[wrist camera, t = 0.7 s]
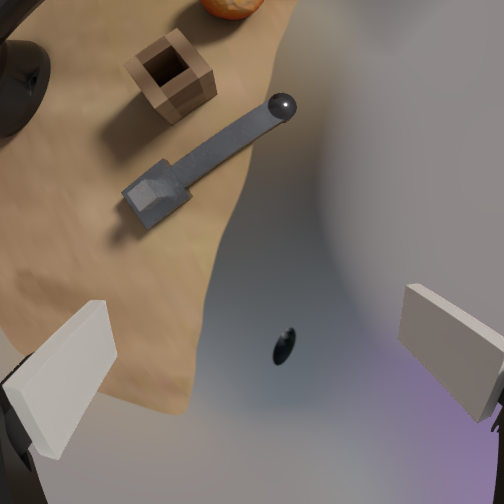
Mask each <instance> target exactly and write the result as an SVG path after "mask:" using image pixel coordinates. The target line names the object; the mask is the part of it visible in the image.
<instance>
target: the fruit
mask: <svg viewBox="0 0 504 504" xmlns="http://www.w3.org/2000/svg"><path fill="white" fill-rule="evenodd" d="M263 1H264V0H200V2H201V3H202V5H203V7H204V8H205V9H206V10H207V11H208V12H209V13H210V14H212V15H214V16H217V17H220V18H224V19H228V20H239V19H242V18H245V17H247V16H249V15H251V14H252V13H254V12H255V11H256V10H257V9H258V8H259V7H260V5H261V4H262V3H263Z"/></svg>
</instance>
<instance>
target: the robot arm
mask: <svg viewBox="0 0 504 504" xmlns="http://www.w3.org/2000/svg"><path fill="white" fill-rule="evenodd" d="M44 1H45V0H0V137H7V136H10V135H12V134H14V133H16V132H17V131H18V130H20V129H21V128H22V127H23V126H24V125H25V124H26V123H27V122H28V121H29V120H30V118H31V117H32V116H33V114H34V113H35V111H36V110H37V108H38V106H39V105H40V103H41V101H42V99H43V96H44V94H45V92H46V89H47V86H48V82H49V77H50V59H49V56H48V54H47V52H46V51H45V49H43V48H42V47H41V46H39V45H37V44H36V43H34V42H31V41H22V40H6V39H7V38H8V37H9V35H10V34H11V33H12V32H13V31H14V30H15V29H16V28H17V27H18V26H19V25H20V24H21V23H22V22H23V21H24V20H25V19H26V18H27V17H28V16H29V15H30V14H31V13H32V12H33V11H34V10H35V9H36V8H37V7H38V6H39V5H40V4H41V3H43V2H44ZM398 340H399V341H400V342H401V343H402V344H403V345H404V346H405V347H406V348H407V349H408V350H409V351H410V352H411V353H412V354H413V355H414V356H415V357H416V358H417V359H418V360H419V362H420V363H422V365H423V366H424V367H425V368H426V369H427V370H428V371H429V372H430V373H431V374H432V375H433V376H434V377H435V378H436V379H437V380H438V381H439V382H440V384H442V386H443V387H444V388H445V389H446V390H447V391H448V392H449V393H450V394H451V395H452V396H453V397H454V399H455V400H456V401H457V402H458V403H459V404H460V405H461V406H462V407H463V408H464V409H465V411H466V412H468V414H469V415H470V416H471V417H472V418H473V419H474V421H475V422H476V423H478V422H480V421H482V420H484V419H486V418H488V417H490V416H491V415H492V413H493V411H494V409H495V407H496V405H497V403H498V402H499V403H500V404H501V405H502V406H503V407H502V409H501V411H500V413H499V415H498V417H497V419H496V421H495V423H494V424H493V426H492V428H491V432H493V431H494V429H495V428H496V426H497V425H499V429H498V430H497V432H499V448H498V464H497V465H498V466H497V476H496V485H495V492H494V500H493V504H504V337H503V336H501V335H499V334H498V333H497V332H495V331H494V330H492V329H491V328H489V327H488V326H486V325H484V324H483V323H481V322H480V321H478V320H476V319H475V318H474V317H472V316H470V315H469V314H467V313H466V312H464V311H463V310H461V309H460V308H458V307H456V306H455V305H453V304H452V303H450V302H448V301H447V300H445V299H443V298H442V297H440V296H439V295H437V294H435V293H434V292H432V291H430V290H429V289H427V288H425V287H424V286H422V285H420V284H410V285H405V293H404V301H403V308H402V315H401V321H400V327H399V333H398ZM116 358H117V352H116V348H115V343H114V339H113V335H112V331H111V326H110V321H109V317H108V312H107V307H106V301H105V300H90V301H89V302H88V303H86V304H85V305H84V306H83V307H82V308H81V309H80V310H79V311H78V312H77V313H75V314H74V315H73V316H72V317H71V318H70V319H69V320H68V321H67V322H66V323H65V324H64V325H62V326H61V327H60V328H59V329H58V330H57V331H56V332H55V333H54V334H53V335H52V336H51V337H50V338H49V339H48V340H47V341H46V342H45V343H44V344H43V345H42V346H40V347H39V348H38V349H37V350H36V351H35V352H33V353H31V354H30V355H28V356H26V357H25V358H24V359H23V360H22V361H21V362H20V363H19V365H17V366H16V367H15V368H14V370H13V371H11V372H10V374H9V375H7V376H6V378H5V379H4V380H3V381H2V382H1V383H0V504H48V503H47V500H46V497H45V495H44V492H43V489H42V486H41V483H40V481H39V477H38V474H37V471H36V468H35V464H34V462H33V458H32V455H31V453H30V452H29V450H28V447H29V446H30V444H31V443H33V444H34V446H35V448H36V449H37V450H38V452H39V454H40V455H43V456H46V457H50V458H52V459H56V460H59V458H60V457H61V455H62V453H63V451H64V449H65V447H66V445H67V443H68V442H69V440H70V438H71V436H72V434H73V432H74V430H75V429H76V427H77V425H78V423H79V421H80V419H81V418H82V416H83V414H84V412H85V411H86V409H87V407H88V405H89V403H90V402H91V400H92V398H93V396H94V395H95V393H96V391H97V390H98V388H99V386H100V384H101V383H102V381H103V379H104V378H105V376H106V374H107V373H108V371H109V369H110V368H111V366H112V364H113V363H114V361H115V359H116Z"/></svg>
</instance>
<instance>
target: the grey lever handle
mask: <svg viewBox="0 0 504 504" xmlns="http://www.w3.org/2000/svg"><path fill="white" fill-rule="evenodd" d="M296 109H297V106H296V102H295V100H294V99H293V98H292V97H291V96H290V95H288V94H285V93H278V94H275V95H273V96H272V97H271V98H270V100H268V101H266V102H265V103H263V104H262V105H260V106H258V107H257V108H255V109H253V110H252V111H250V112H249V113H247V114H246V115H244V116H242V117H241V118H239V119H238V120H236V121H235V122H233V123H232V124H230V125H229V126H227V127H226V128H224V129H223V130H221V131H220V132H218V133H217V134H215V135H214V136H212V137H211V138H210V139H208V140H207V141H205V142H204V143H202V144H201V145H200V146H198V147H197V148H195V149H194V150H193V151H191V152H190V153H189V154H187V155H186V156H184V157H183V158H182V159H180V160H179V161H178V162H176V163H175V164H174V165H172V166H171V165H170V163H169V162H168V161H167V160H165V159H162V160H160V161H159V162H158V163H156V164H155V165H154V166H153V167H151V168H150V169H149V170H148V171H146V172H145V173H144V174H143V175H141V176H140V177H139V178H138V179H137V180H135V181H134V182H133V183H132V184H131V185H129V186H128V187H127V188H126V189H125V190H123V191H122V192H121V193H122V195H123V196H124V197H125V199H126V200H127V202H128V203H129V205H130V206H131V208H132V209H133V211H134V212H135V213H136V215H137V216H138V218H139V219H140V220H141V222H142V223H143V225H144V226H145V228H146V229H147V230H148V229H150V228H152V227H153V226H155V225H156V224H157V223H159V222H160V221H161V220H162V219H164V218H165V217H166V216H168V215H169V214H170V213H171V212H173V211H174V210H175V209H177V208H178V207H179V206H181V205H182V204H183V203H185V202H186V201H187V200H189V199H190V198H191V197H193V196H192V194H191V193H190V191H189V190H188V189H187V188H188V187H189V186H190V185H192V184H193V183H194V182H196V181H197V180H198V179H200V178H201V177H203V176H204V175H205V174H207V173H208V172H210V171H211V170H212V169H214V168H215V167H217V166H218V165H219V164H221V163H222V162H224V161H225V160H227V159H228V158H229V157H231V156H232V155H234V154H235V153H237V152H238V151H240V150H241V149H243V148H244V147H246V146H247V145H249V144H250V143H252V142H253V141H255V140H256V139H258V138H259V137H261V136H262V135H264V134H265V133H267V132H268V131H270V130H272V129H273V128H274V127H276V126H278V125H279V124H281V123H285V122H287V121H289V120H290V119H291V118H292V117H293V115H294V114H295V112H296Z"/></svg>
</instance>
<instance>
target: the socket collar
mask: <svg viewBox="0 0 504 504" xmlns="http://www.w3.org/2000/svg"><path fill="white" fill-rule="evenodd" d="M123 66H124V67H125V69H126V70H127V71H128V73H129V74H130V76H131V77H132V78H133V80H134V81H135V82H136V84H137V85H138V87H139V88H140V89H141V91H142V92H143V93H144V95H145V96H146V98H147V99H148V100H149V102H150V103H151V105H152V106H153V107H154V109H155V110H156V111H157V112H159V113H160V114H161V115H162V116H163V117H164V118H165V119H166V120H167V121H168V122H169V123H170V124H171V125H173V124H175V123H176V122H178V121H179V120H180V119H182V118H183V117H185V116H186V115H187V114H189V113H190V112H192V111H193V110H195V109H196V108H197V107H199V106H200V105H202V104H203V103H205V102H206V101H208V100H209V99H211V98H212V97H214V96H216V95H217V90H216V85H215V80H214V75H213V70H212V69H211V67H210V66H209V65H208V64H207V62H206V61H205V60H204V59H203V58H202V56H201V55H200V54H199V53H198V52H197V50H196V49H195V48H194V47H193V46H192V45H191V43H190V42H189V41H188V40H187V39H186V38H185V36H184V35H183V34H182V33H181V32H180V31H179V30H178V28H176V29H174V30H173V31H171V32H170V33H168V34H166V35H165V36H163V37H162V38H160V39H159V40H157V41H156V42H154V43H153V44H151V45H150V46H148V47H147V48H145V49H144V50H142V51H141V52H140V53H138V54H137V55H135V56H134V57H133V58H131V59H130V60H129V61H127V62H126V63H125V64H123Z"/></svg>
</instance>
